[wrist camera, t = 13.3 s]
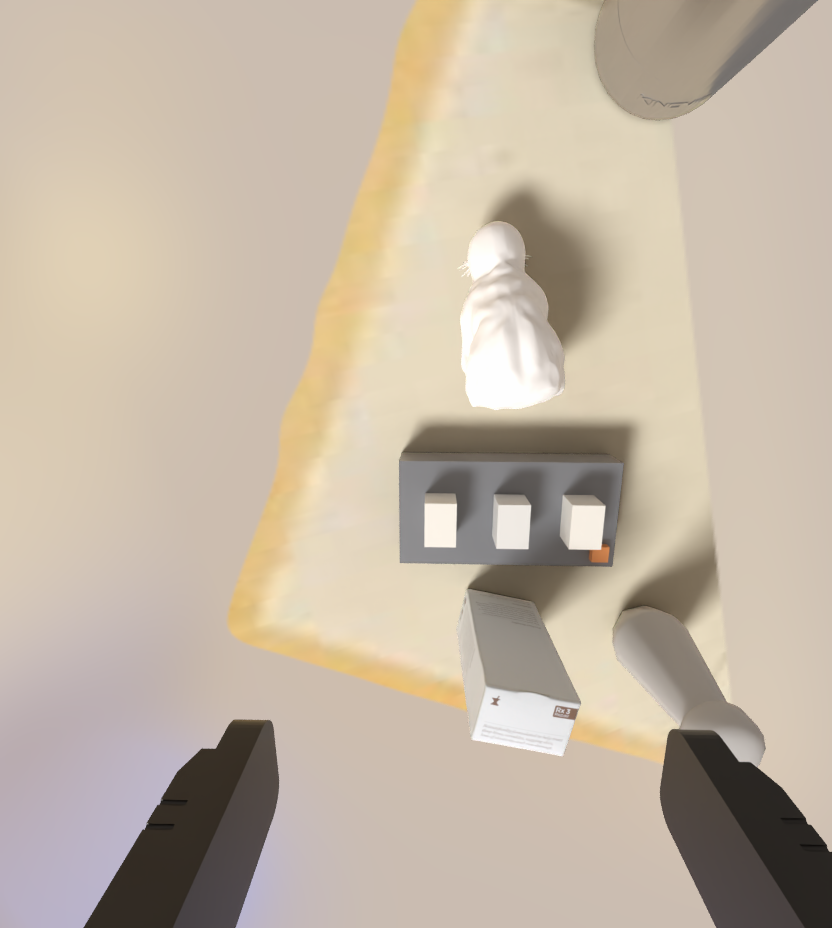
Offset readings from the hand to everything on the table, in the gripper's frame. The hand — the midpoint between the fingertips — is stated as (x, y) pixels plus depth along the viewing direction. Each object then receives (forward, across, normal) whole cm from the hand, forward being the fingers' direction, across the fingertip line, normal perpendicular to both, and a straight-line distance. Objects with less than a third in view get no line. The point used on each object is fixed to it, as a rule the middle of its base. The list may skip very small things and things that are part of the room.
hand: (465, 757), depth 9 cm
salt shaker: (+28, -17, +15) cm, 36 cm away
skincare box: (+28, -5, +14) cm, 32 cm away
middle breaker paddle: (+25, -5, +4) cm, 25 cm away
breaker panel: (+28, -5, +4) cm, 28 cm away
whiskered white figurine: (+28, -4, -10) cm, 30 cm away
